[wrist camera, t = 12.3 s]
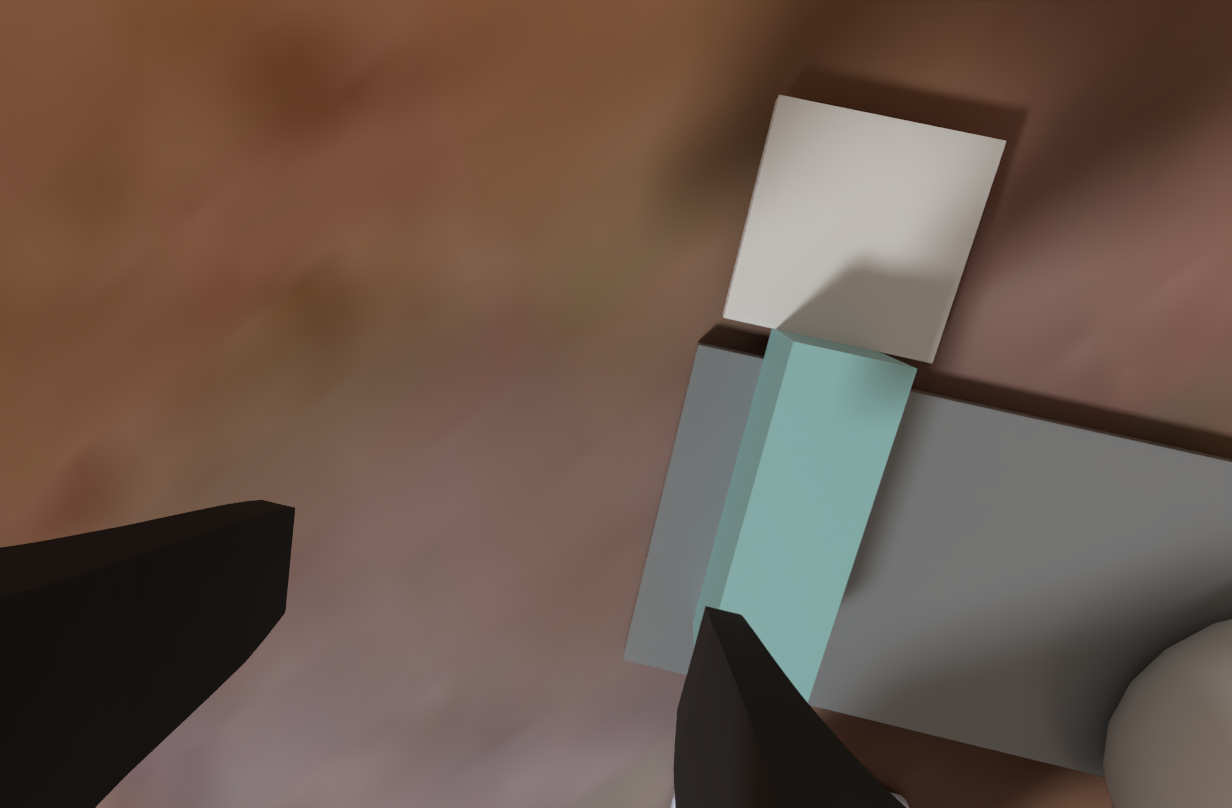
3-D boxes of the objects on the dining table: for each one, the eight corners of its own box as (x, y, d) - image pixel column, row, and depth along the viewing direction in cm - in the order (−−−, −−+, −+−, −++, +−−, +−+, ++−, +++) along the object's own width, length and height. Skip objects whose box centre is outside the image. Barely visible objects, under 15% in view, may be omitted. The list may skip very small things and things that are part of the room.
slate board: (1261, 800, 21) (1283, 821, 21) (624, 645, 22) (622, 659, 22) (1425, 501, 19) (1457, 512, 18) (697, 341, 20) (698, 344, 19)
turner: (827, 655, 21) (856, 731, 17) (648, 611, 21) (642, 679, 18) (995, 145, 17) (1074, 115, 14) (775, 100, 17) (799, 60, 14)
